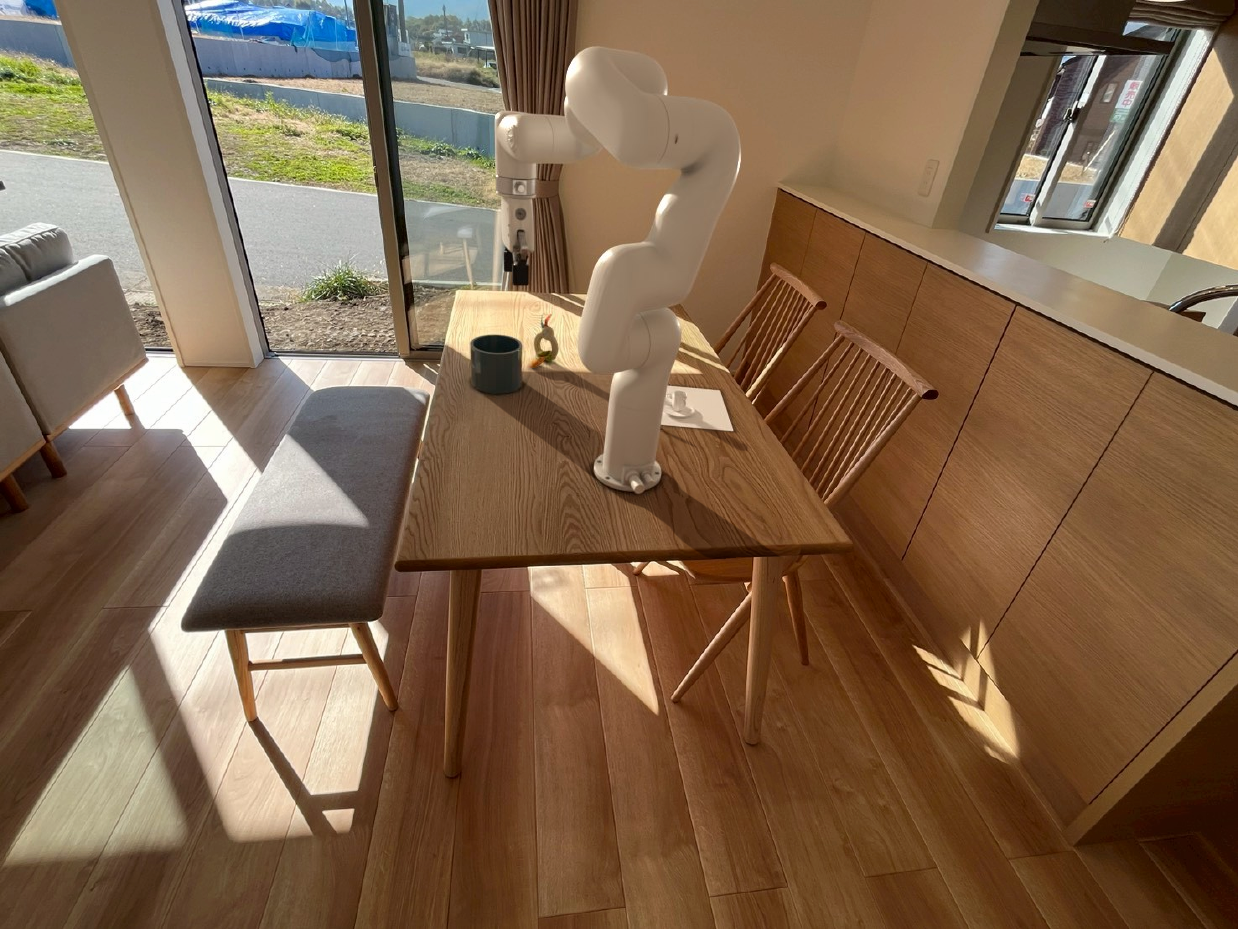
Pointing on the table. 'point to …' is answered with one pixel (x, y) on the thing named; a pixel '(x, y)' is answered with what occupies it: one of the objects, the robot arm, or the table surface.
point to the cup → (496, 364)
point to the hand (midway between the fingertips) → (515, 278)
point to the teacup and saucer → (695, 409)
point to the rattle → (542, 355)
